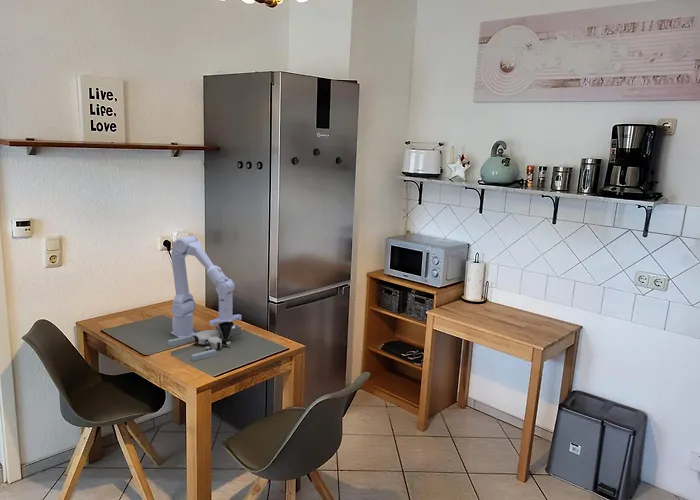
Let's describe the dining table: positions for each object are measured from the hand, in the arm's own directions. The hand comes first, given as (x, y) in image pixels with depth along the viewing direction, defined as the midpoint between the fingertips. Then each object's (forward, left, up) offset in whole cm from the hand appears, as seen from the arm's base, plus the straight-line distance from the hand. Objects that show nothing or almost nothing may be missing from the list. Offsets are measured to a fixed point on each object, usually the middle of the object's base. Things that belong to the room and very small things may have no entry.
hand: (225, 338), depth 231 cm
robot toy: (0, -7, -2) cm, 7 cm away
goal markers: (0, -16, -1) cm, 16 cm away
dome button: (-8, +6, 0) cm, 10 cm away
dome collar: (-8, +6, -1) cm, 10 cm away
